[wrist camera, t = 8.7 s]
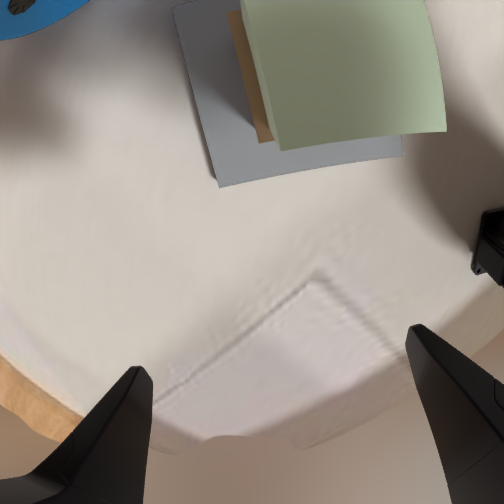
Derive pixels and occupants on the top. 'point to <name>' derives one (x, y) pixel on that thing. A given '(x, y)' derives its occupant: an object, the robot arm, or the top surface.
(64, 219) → the top surface
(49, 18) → the alarm clock
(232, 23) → the walnut block
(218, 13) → the mat
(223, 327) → the top surface
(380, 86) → the sage cube
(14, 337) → the top surface
